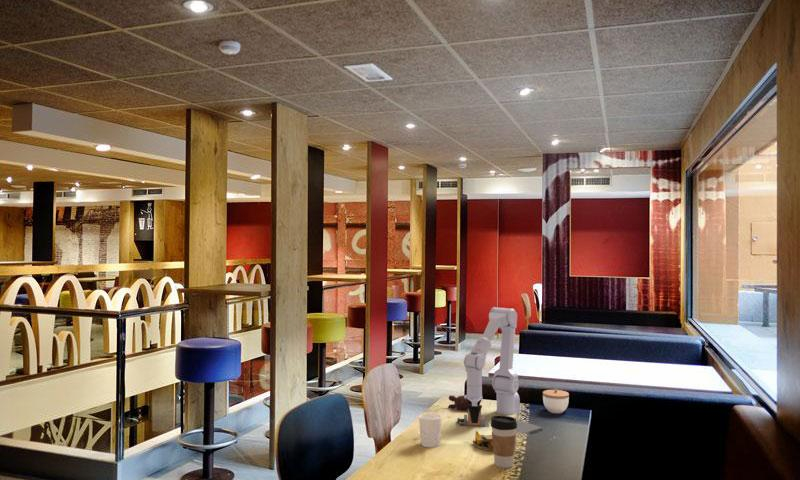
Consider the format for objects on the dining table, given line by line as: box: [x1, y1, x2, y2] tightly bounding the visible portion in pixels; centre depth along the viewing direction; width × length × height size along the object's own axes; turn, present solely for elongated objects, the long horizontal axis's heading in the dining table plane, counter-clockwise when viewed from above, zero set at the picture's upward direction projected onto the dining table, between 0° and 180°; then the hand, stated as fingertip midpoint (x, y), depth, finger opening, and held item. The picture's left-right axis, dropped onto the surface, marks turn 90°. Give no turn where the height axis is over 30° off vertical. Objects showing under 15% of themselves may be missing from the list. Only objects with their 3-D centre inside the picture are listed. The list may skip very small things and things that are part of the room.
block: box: [467, 409, 482, 425], centre depth 233 cm, size 5×4×6 cm
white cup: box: [418, 412, 442, 449], centre depth 212 cm, size 8×8×10 cm
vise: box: [456, 414, 490, 428], centre depth 233 cm, size 12×7×4 cm, turn 83°
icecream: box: [447, 395, 469, 411], centre depth 253 cm, size 7×7×15 cm
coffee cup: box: [490, 415, 517, 469], centre depth 193 cm, size 8×8×15 cm
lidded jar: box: [542, 388, 570, 414], centre depth 253 cm, size 11×11×9 cm
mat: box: [516, 420, 543, 435], centre depth 229 cm, size 11×11×1 cm
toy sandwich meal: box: [472, 430, 493, 451], centre depth 211 cm, size 12×14×5 cm
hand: (474, 419), depth 233 cm, fingers open, 7 cm apart
